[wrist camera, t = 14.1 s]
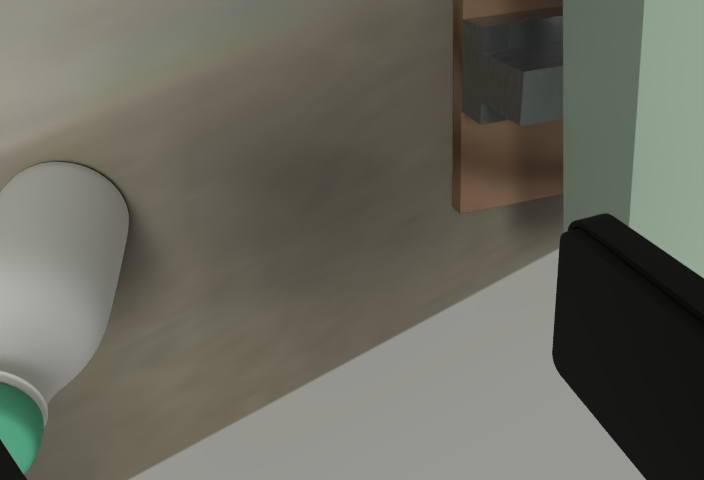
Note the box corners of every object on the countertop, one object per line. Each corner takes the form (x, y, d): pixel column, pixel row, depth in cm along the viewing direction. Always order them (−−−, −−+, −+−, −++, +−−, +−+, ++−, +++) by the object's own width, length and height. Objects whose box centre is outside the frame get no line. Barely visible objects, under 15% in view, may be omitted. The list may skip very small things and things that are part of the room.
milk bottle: (6, 145, 34) (-175, 362, 17) (139, 173, 37) (95, 384, 20) (-4, 253, 37) (-166, 527, 20) (120, 271, 40) (68, 526, 23)
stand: (454, -129, 33) (538, -146, 25) (607, -144, 35) (732, -163, 27) (452, 205, 44) (510, 269, 36) (568, 183, 46) (648, 238, 38)
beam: (562, -143, 25) (655, -159, 20) (662, -167, 26) (777, -189, 21) (563, 258, 37) (623, 311, 32) (632, 235, 37) (702, 285, 32)
